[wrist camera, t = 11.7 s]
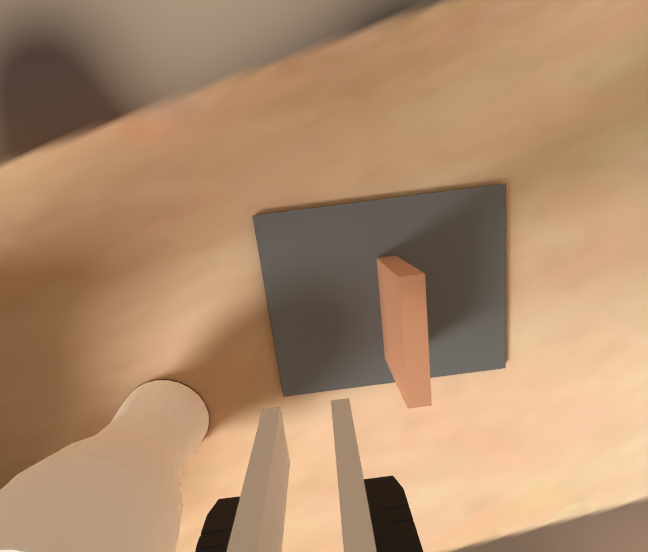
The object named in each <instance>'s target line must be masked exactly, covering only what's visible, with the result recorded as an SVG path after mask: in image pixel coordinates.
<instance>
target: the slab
mask: <svg viewBox="0 0 648 552" xmlns="http://www.w3.org/2000/svg"><path fill="white" fill-rule="evenodd" d="M377 270H378V282H379V294H380V306H381V318H382V330H383V342H384V354H385V360H386V362H387V364H388V366H389V369H390V371H391V373H392V375H393V377H394V380H395V382H396V384H397V386H398V388H399V390H400V393H401V395H402V397H403V399H404V401H405V404H406V406H407V408H415V407H423V406H431V405H432V403H431V383H430V363H429V343H428V323H427V303H426V283H425V274H424V273H423V272H421V271H420V270H418V269H417V268H415V267H413V266H412V265H410V264H409V263H407V262H405V261H404V260H402V259H401V258H399V257H397V256H388V257H380V258H377Z"/></svg>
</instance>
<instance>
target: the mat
mask: <svg viewBox="0 0 648 552" xmlns="http://www.w3.org/2000/svg"><path fill="white" fill-rule="evenodd" d="M253 221H254V227H255V233H256V239H257V245H258V251H259V256H260V262H261V268H262V274H263V280H264V286H265V292H266V297H267V303H268V309H269V315H270V321H271V327H272V332H273V338H274V344H275V350H276V356H277V362H278V368H279V373H280V379H281V385H282V391H283V397H284V396H292V395H299V394H307V393H315V392H323V391H330V390H338V389H346V388H354V387H362V386H369V385H377V384H385V383H393V382H395V380H394V377H393V375H392V373H391V371H390V369H389V366H388V364H387V362H386V360H385V354H384V342H383V330H382V318H381V306H380V294H379V282H378V270H377V258H380V257H388V256H397V257H399V258H401V259H402V260H404V261H405V262H407V263H409V264H410V265H412V266H413V267H415V268H417V269H418V270H420V271H421V272H423V273H424V274H425V283H426V303H427V323H428V343H429V363H430V378H432V377H439V376H447V375H455V374H463V373H471V372H478V371H486V370H494V369H502V368H505V366H506V183H505V184H496V185H488V186H481V187H473V188H465V189H457V190H449V191H441V192H433V193H426V194H418V195H410V196H402V197H394V198H386V199H378V200H371V201H363V202H355V203H347V204H339V205H331V206H323V207H316V208H308V209H300V210H292V211H284V212H276V213H268V214H261V215H253Z"/></svg>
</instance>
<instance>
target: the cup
mask: <svg viewBox="0 0 648 552" xmlns="http://www.w3.org/2000/svg"><path fill="white" fill-rule="evenodd" d="M208 425H209V415H208V411H207V408H206V406H205V403H204V402H203V401H202V399H201V398H200V397H199V395H198V394H197V393H195V392H194V391H193V390H192V389H190V388H189V387H187V386H185V385H182V384H180V383H178V382H173V381H168V380H155V381H152V382H148V383H144V384H143V385H141V386H139V387H137V388H136V389H135V390H134V391H133V392H132V393H131V394H130V395H129V396H128V397H127V399H126V400H125V401H124V403H123V404H122V405H121V407H120V409H119V410H118V412H117V413H116V415H115V417H114V418H113V420H112V421H111V423H110V424H109V425H107V426H106V427H105V428H104V429H102V430H101V431H100V432H99V433H97V434H96V435H95V436H92V437H89V438H86V439H83V440H80V441H77V442H74V443H71V444H70V445H68V446H66V447H64V448H62V449H61V450H59V451H57V452H55V453H54V454H52V455H50V456H48V457H47V458H45V459H43V460H41V461H40V462H38V463H36V464H34V465H33V466H31V467H29V468H27V469H26V470H24V471H22V472H20V473H19V474H17V475H16V476H15V477H14V478H13V479H12V480H11V481H9V482H8V483H7V484H6V485H5V486H4V487H3V488H2V489H1V490H0V552H175V551H176V546H177V542H178V536H179V528H180V520H181V513H182V496H181V486H180V479H181V476H182V473H183V470H184V467H185V464H186V462H187V461H188V460H189V458H190V457H191V456H192V454H193V453H194V452H195V450H196V449H197V447H198V446H199V444H200V443H201V441H202V440H203V438H204V436H205V434H206V433H207V430H208Z"/></svg>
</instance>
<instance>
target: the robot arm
mask: <svg viewBox="0 0 648 552" xmlns="http://www.w3.org/2000/svg"><path fill="white" fill-rule="evenodd" d="M331 406H332V418H333V429H334V441H335V452H336V464H337V476H338V487H339V499H340V510H341V522H342V534H343V545H344V552H423V549H422V546H421V543H420V540H419V537H418V534H417V530H416V527H415V524H414V522H413V518H412V514H411V511H410V508H409V505H408V502H407V498H406V495H405V492H404V489H403V488H402V486H401V485H400V484H399V483H398V481H397V480H396V479H395V478H394V477H393V476H386V477H379V478H371V479H363V473H362V467H361V462H360V456H359V451H358V445H357V440H356V434H355V429H354V423H353V417H352V412H351V406H350V401H349V398H347V399H340V400H332V401H331ZM289 467H290V460H289V454H288V448H287V442H286V437H285V431H284V425H283V420H282V414H281V408H280V407H277V408H270V409H262V413H261V417H260V421H259V425H258V428H257V432H256V436H255V440H254V444H253V448H252V452H251V456H250V460H249V464H248V468H247V472H246V476H245V480H244V484H243V488H242V492H241V496H240V497H232V498H224V499H218V501H217V502H216V504H215V505H214V506H213V508H212V509H211V511H210V512H209V513H208V515H207V517H206V520H205V523H204V526H203V529H202V532H201V536H200V537H199V540H198V543H197V546H196V552H282V541H283V531H284V520H285V509H286V499H287V488H288V477H289Z"/></svg>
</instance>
